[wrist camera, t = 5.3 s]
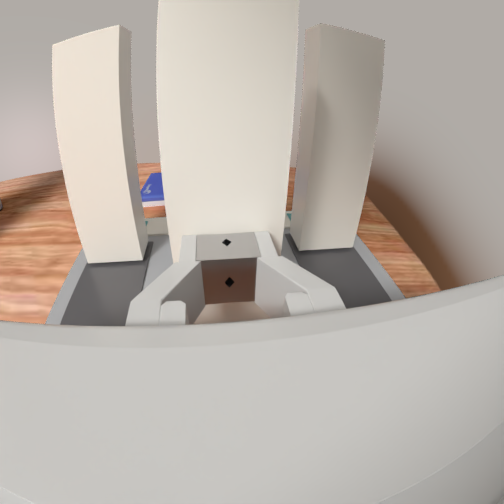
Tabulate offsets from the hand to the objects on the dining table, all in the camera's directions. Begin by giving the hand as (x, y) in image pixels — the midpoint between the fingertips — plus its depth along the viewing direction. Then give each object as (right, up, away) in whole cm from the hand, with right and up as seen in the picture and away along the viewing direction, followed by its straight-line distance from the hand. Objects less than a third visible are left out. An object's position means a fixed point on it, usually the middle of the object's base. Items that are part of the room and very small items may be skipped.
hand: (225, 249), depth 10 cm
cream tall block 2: (+6, +1, +9) cm, 11 cm away
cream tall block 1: (-8, 0, +7) cm, 11 cm away
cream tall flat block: (0, -3, +4) cm, 5 cm away
